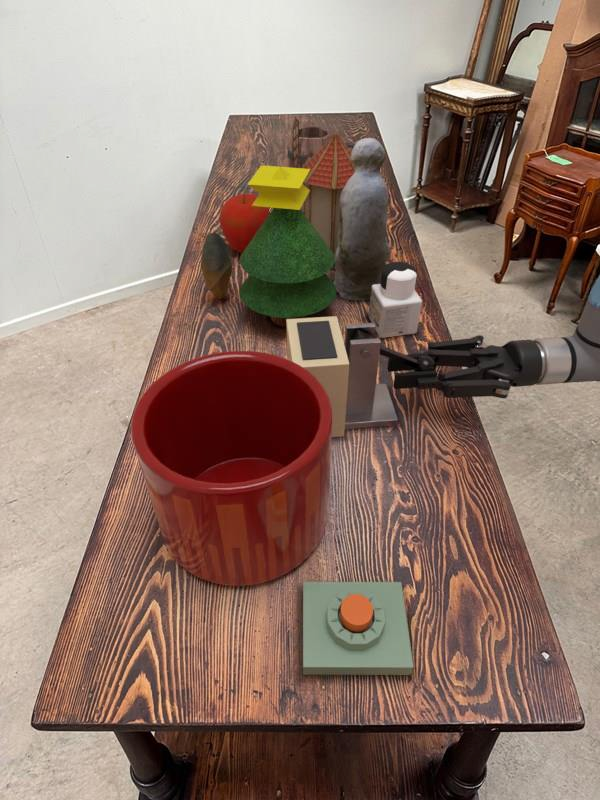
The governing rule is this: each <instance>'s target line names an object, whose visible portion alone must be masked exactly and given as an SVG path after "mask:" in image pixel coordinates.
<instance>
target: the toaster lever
mask: <svg viewBox="0 0 600 800" xmlns="http://www.w3.org/2000/svg"><path fill="white" fill-rule="evenodd" d="M361 339H375V337H374V338H373V336H372V335H369V334H367V333H364V332H362V331H359V330H357V331H356V332H355V334H354V335H353V337H352V338H351V339H350V340H361ZM349 342H350V341H349ZM379 356H383V357H385V358H388V359H389V358H390V359H393V360H395V361H398V362H401V363H403V364H406V365H408V366H411V367H413V370H412V371H413V372H419V371H433V370H436V371H437V366H436V363H435V361H434V360H433V359H432V358H431V357H428V356H421V357H419V358H418V359H414V358H412V357H409V356H407V354H404V353H403V352H399V351H396V350H394V349H391V348H388V347H386V346H384V345H381V347H380V355H379Z"/></svg>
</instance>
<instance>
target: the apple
mask: <svg viewBox="0 0 600 800" xmlns="http://www.w3.org/2000/svg"><path fill="white" fill-rule="evenodd" d="M258 196H259V195H257V194H254V193H248V192H247V193H240V194H237V195H234V196H231V197H229V199H227V200H226V201H225V202H224V203H223V204H222V205H221V209H220V213H219V216H218V221H219V224H220V228H221V232H222V234H223V236H224V237H225V239H226V242H227V243H228V244H229V246H230V248H231V249H232V250H235V251H236V252H238V253H240V254H242V253H243V252H244V250H245V249H246V247H247V246H248V245H249V243H250V242H251V240H252V239H253V237H254V236H255V234H256V233H257V231H258V230H259V229H260V227H261V226H262V224H263V223H264V221H265V220H266V218H267V217H268V215H269V214H270V213H271V211H270V209H269V208H270V207H261V206H252V204H253V203H254V201H255V200H256V199H257V197H258Z"/></svg>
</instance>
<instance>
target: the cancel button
mask: <svg viewBox="0 0 600 800" xmlns="http://www.w3.org/2000/svg"><path fill="white" fill-rule="evenodd" d="M372 616H373V607H372V604H371V602H370V601H369V600H368V599H367V598H366V597H365V596H363V595H359V594H352V595H349V596H347V597H346V598H345V599H344V600H343V602H342V604H341V610H340V619H341V622H342V624H343V625H344V626H345V627H346V628H347V629H348V630H350V631H353V632H361V631H364V630H366V629H367V628H368V627H369V626H370V624H371V621H372Z"/></svg>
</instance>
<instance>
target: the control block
mask: <svg viewBox="0 0 600 800" xmlns="http://www.w3.org/2000/svg"><path fill="white" fill-rule="evenodd" d="M352 594H359V595H363V596H365V597H366V598H367V599H368V600H369V601H370V602H371V604H372V607H373V616H372V621H371V624H370V626H369V627H368V628H367V629H366V630H364V631H361V632H353V631H350V630H348V629H347V628H346V627H345V626H344V625H343V624H342V622H341V619H340V610H341V604H342V602H343V600H344V599H345V598H346V597H347V596H349V595H352ZM412 653H413V652H412V647H411V639H410V633H409V624H408V618H407V611H406V605H405V598H404V590H403V583H402V581H303V582H302V675H304V676H306V675H308V676H310V675H311V676H412V673H413V671H414V660H413V654H412Z"/></svg>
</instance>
